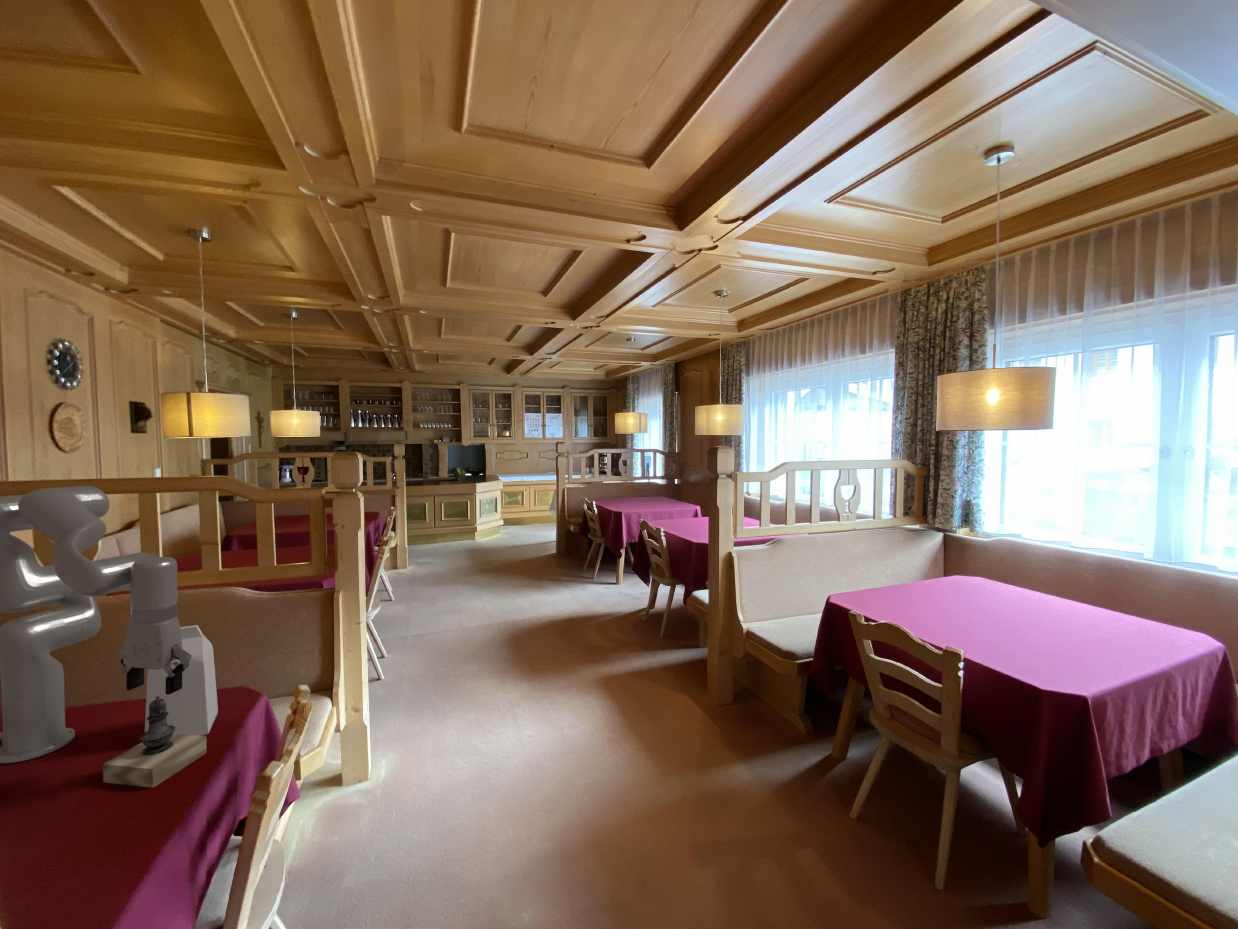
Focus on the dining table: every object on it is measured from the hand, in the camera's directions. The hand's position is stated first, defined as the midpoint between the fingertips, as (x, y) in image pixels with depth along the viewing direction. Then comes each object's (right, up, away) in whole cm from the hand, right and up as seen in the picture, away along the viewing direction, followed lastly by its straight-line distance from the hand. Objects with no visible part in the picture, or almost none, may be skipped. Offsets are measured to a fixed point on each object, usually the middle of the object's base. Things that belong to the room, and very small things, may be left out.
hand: (154, 689), depth 111 cm
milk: (-7, -17, +16) cm, 24 cm away
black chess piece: (0, -14, +1) cm, 14 cm away
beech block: (0, -18, +1) cm, 18 cm away
